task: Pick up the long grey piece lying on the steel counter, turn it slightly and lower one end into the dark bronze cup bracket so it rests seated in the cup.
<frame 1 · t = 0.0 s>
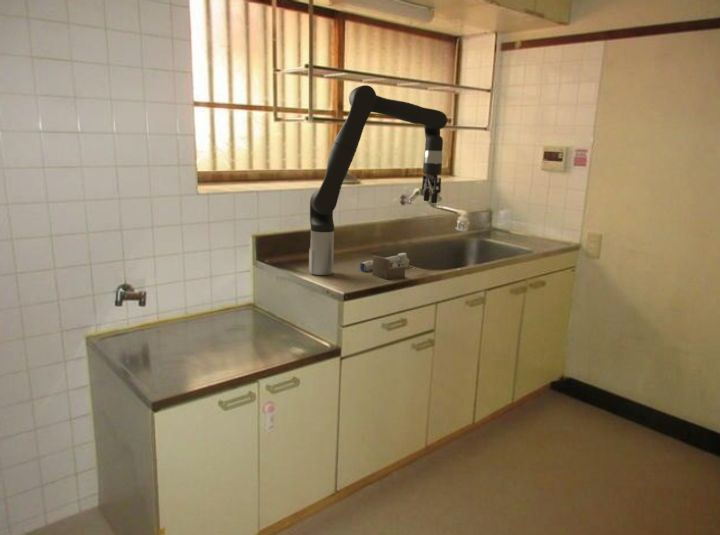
hand: (430, 202, 221), 29 cm above the counter, tool pointing down, fingers open, 8 cm apart
cup bracket: (388, 276, 215), on the counter
grey piece: (385, 269, 229), on the counter
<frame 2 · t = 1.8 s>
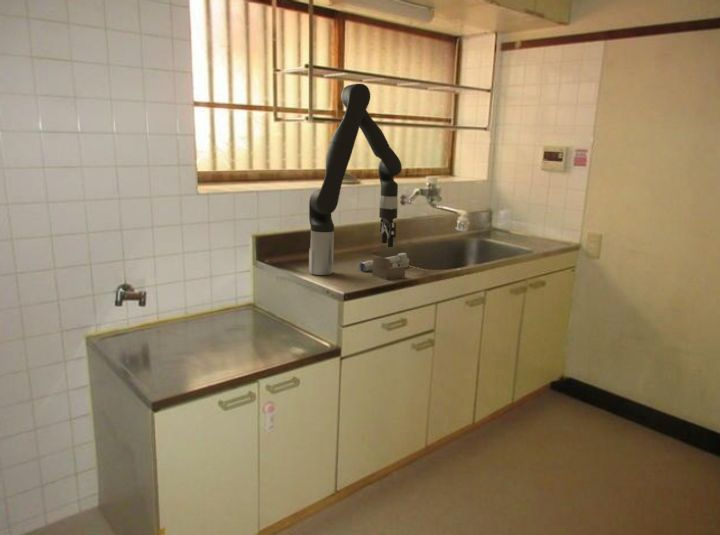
hand: (387, 245, 227), 10 cm above the counter, tool pointing down, fingers open, 8 cm apart
nothing on the counter moved.
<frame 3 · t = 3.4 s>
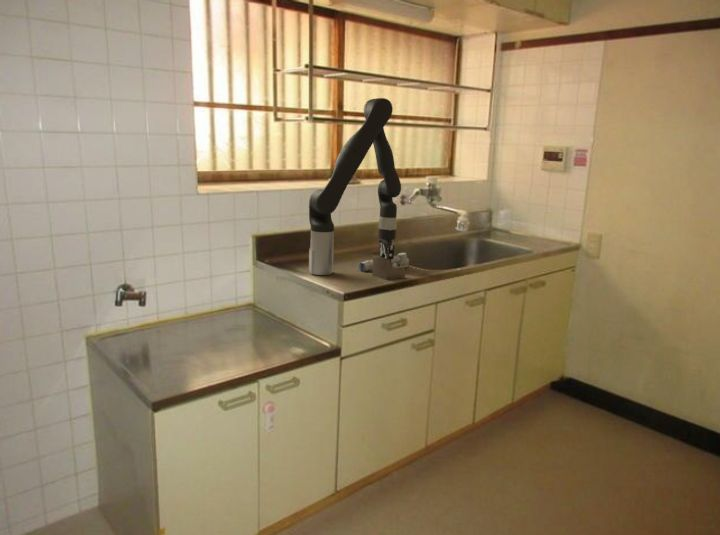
hand: (385, 266, 229), 1 cm above the counter, tool pointing down, fingers closed on grey piece, 6 cm apart
grey piece: (384, 269, 229), on the counter, touching gripper
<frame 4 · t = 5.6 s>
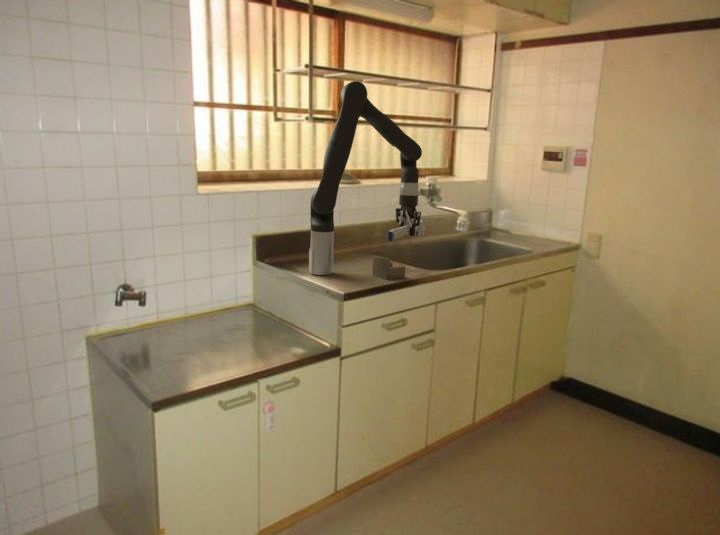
hand: (406, 234, 219), 16 cm above the counter, tool pointing down, fingers closed on grey piece, 6 cm apart
grey piece: (406, 237, 219), point 15 cm above the counter, touching gripper
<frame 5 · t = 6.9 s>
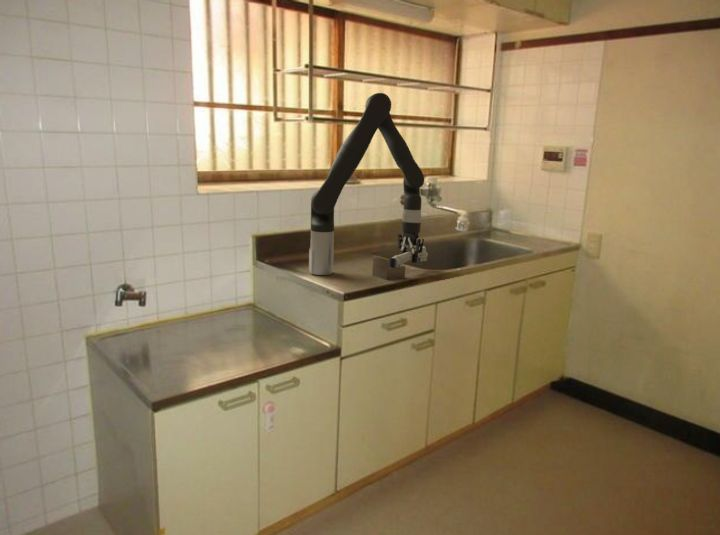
hand: (409, 261, 219), 5 cm above the counter, tool pointing down, fingers closed on grey piece, 6 cm apart
grey piece: (408, 264, 219), point 4 cm above the counter, touching cup bracket, gripper
when the fingers open (3 cm above the counter, at t = 7.7 s): grey piece stays where it is, resting on cup bracket.
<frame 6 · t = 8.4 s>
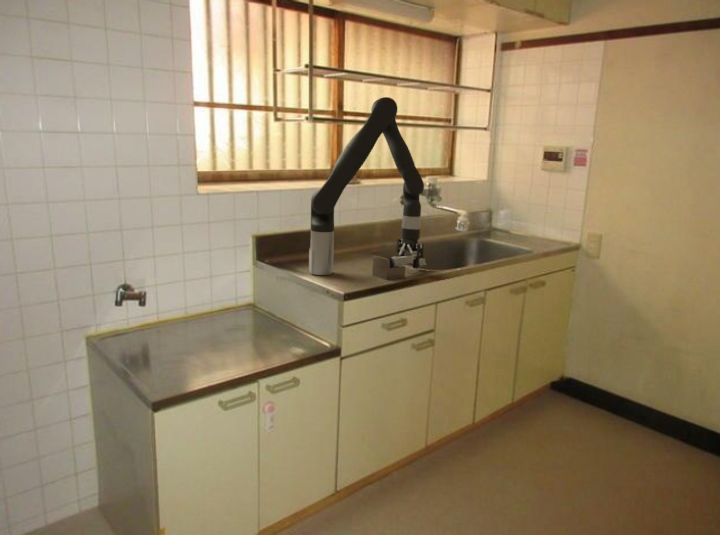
hand: (408, 266, 220), 3 cm above the counter, tool pointing down, fingers open, 8 cm apart
grey piece: (409, 267, 219), point 3 cm above the counter, touching cup bracket
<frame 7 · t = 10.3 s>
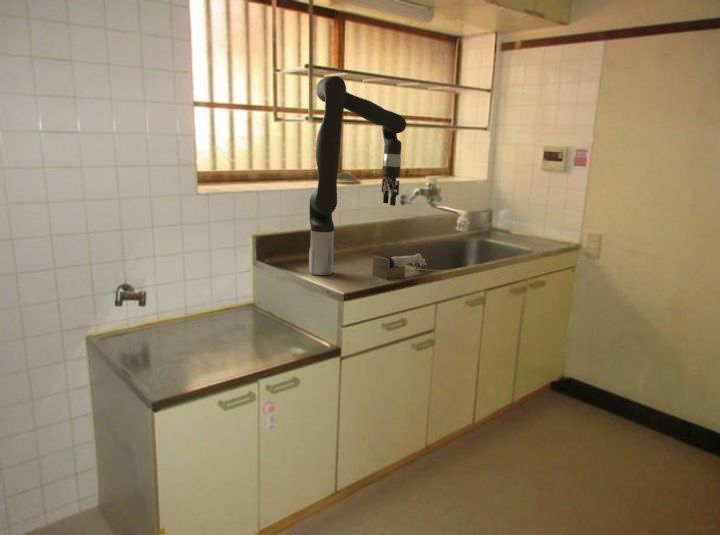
hand: (389, 204, 225), 27 cm above the counter, tool pointing down, fingers open, 8 cm apart
nothing on the counter moved.
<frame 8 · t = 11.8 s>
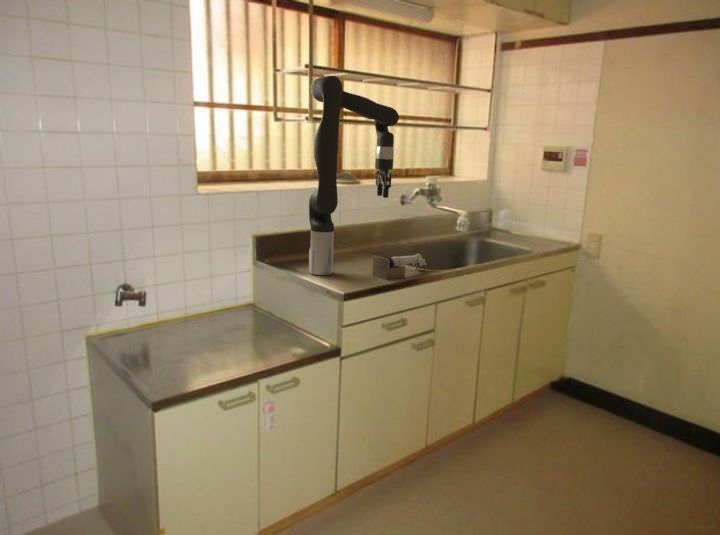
hand: (382, 196, 228), 30 cm above the counter, tool pointing down, fingers open, 8 cm apart
nothing on the counter moved.
at the end: grey piece inside the target area (0.6 cm from its centre), point 2.7 cm above the counter; grey piece touching cup bracket, counter; the gripper is holding nothing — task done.
